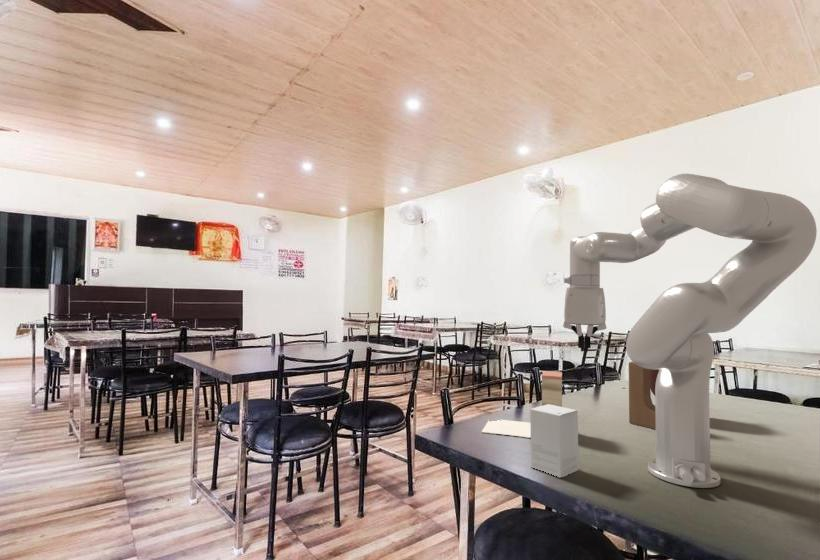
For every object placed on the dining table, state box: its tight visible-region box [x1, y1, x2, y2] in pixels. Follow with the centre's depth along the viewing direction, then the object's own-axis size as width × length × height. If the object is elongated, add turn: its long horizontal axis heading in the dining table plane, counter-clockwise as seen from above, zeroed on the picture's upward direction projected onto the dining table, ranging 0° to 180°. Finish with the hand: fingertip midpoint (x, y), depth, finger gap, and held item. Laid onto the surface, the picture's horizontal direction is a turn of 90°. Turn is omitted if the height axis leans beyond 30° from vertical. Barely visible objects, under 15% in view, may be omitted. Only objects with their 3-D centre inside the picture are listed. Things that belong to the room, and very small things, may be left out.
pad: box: [481, 419, 531, 439], centre depth 119 cm, size 14×14×1 cm
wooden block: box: [628, 361, 656, 430], centre depth 124 cm, size 9×4×18 cm, turn 38°
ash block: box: [541, 370, 563, 407], centre depth 116 cm, size 8×5×16 cm, turn 160°
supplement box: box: [529, 404, 579, 479], centre depth 91 cm, size 7×7×13 cm
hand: (584, 350), depth 114 cm, fingers closed
